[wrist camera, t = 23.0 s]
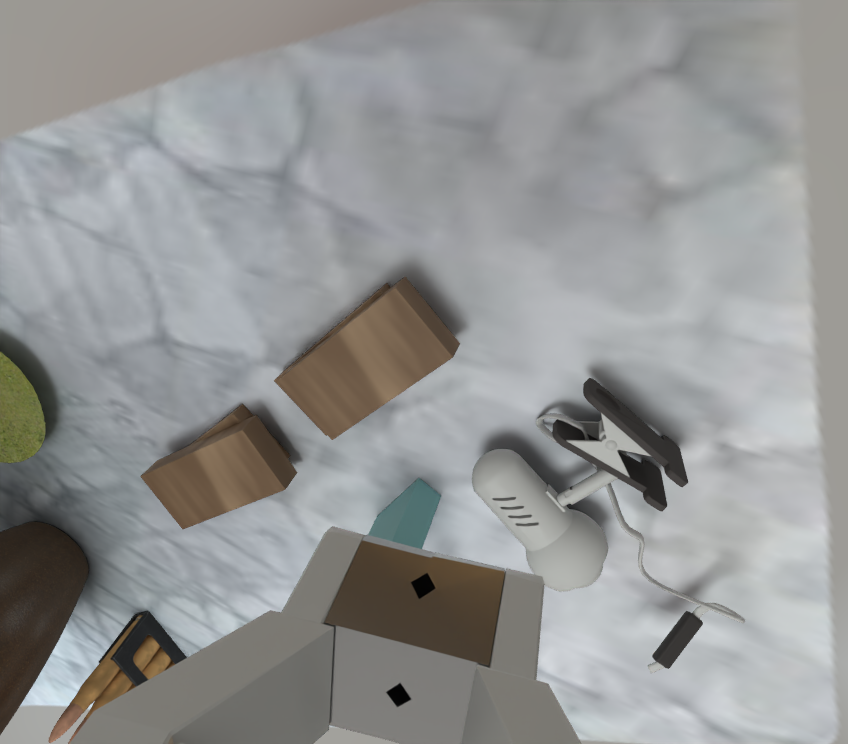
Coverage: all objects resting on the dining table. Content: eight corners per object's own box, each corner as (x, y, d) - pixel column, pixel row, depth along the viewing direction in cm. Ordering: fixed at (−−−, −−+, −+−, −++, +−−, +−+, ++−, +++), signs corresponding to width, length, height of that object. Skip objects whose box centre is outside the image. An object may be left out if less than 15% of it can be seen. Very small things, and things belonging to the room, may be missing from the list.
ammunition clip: (134, 614, 59) (33, 735, 49) (148, 610, 58) (48, 732, 48) (202, 695, 62) (120, 826, 52) (215, 692, 61) (136, 824, 51)
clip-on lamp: (781, 565, 41) (604, 354, 38) (812, 642, 35) (607, 401, 32) (623, 636, 46) (457, 455, 43) (628, 714, 40) (437, 510, 37)
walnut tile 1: (459, 343, 38) (343, 424, 42) (405, 276, 37) (292, 366, 41) (452, 357, 36) (332, 440, 41) (395, 287, 35) (278, 380, 40)
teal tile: (440, 495, 45) (402, 603, 36) (398, 533, 47) (352, 642, 38) (419, 477, 45) (374, 581, 36) (377, 516, 47) (325, 621, 38)
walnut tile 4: (297, 472, 45) (197, 512, 49) (256, 414, 44) (157, 460, 48) (285, 489, 43) (182, 529, 47) (242, 430, 42) (140, 476, 46)
